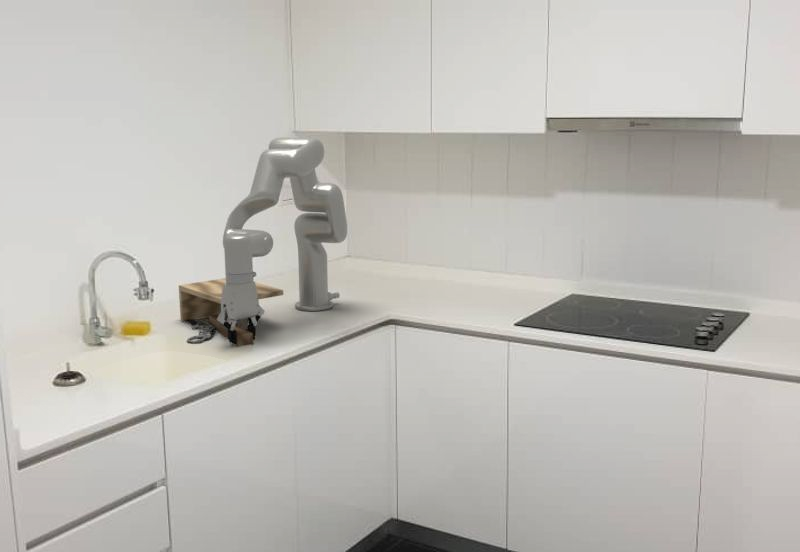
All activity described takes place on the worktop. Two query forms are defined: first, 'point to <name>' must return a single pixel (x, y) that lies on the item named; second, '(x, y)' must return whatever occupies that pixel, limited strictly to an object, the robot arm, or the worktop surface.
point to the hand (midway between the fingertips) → (242, 340)
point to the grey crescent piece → (201, 331)
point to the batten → (242, 335)
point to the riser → (211, 298)
